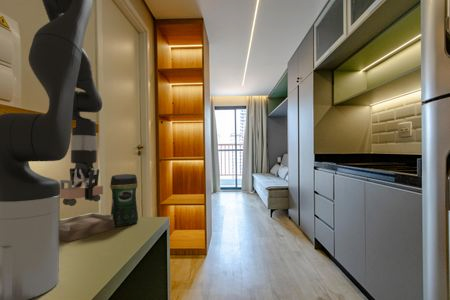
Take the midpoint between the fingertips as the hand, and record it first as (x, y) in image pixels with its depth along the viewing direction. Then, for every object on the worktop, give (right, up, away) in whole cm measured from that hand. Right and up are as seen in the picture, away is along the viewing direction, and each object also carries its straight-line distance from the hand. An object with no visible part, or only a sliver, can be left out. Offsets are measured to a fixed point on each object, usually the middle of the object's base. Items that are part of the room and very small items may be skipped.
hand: (83, 198), depth 78 cm
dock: (0, -11, -1) cm, 11 cm away
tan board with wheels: (0, -1, 0) cm, 2 cm away
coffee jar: (+10, -11, +8) cm, 17 cm away
